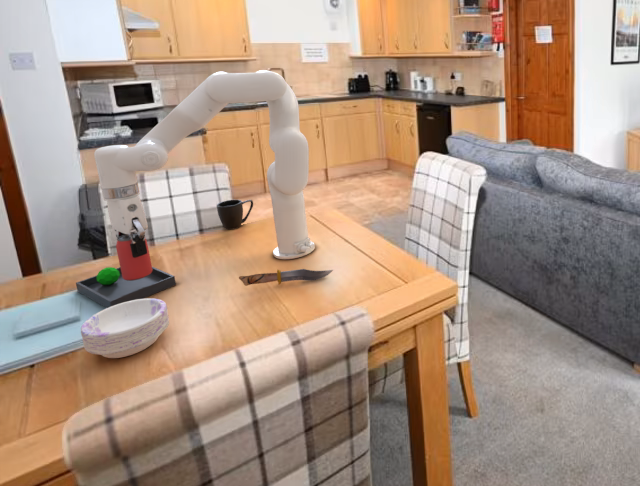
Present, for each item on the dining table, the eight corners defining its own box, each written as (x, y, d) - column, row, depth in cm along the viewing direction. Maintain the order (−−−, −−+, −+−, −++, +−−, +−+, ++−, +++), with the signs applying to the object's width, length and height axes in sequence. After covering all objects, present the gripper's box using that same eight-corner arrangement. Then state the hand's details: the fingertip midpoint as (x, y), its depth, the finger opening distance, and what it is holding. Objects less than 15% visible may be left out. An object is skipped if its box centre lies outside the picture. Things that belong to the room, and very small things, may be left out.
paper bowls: (187, 332, 111) (181, 302, 110) (116, 374, 97) (109, 341, 96) (143, 320, 116) (137, 292, 115) (71, 359, 102) (63, 327, 101)
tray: (176, 284, 134) (174, 276, 133) (112, 311, 121) (110, 301, 120) (140, 268, 144) (138, 260, 143) (77, 291, 131) (75, 282, 130)
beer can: (134, 270, 132) (126, 231, 130) (158, 269, 133) (150, 230, 130) (117, 282, 126) (107, 241, 123) (142, 281, 126) (134, 240, 124)
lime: (107, 288, 130) (104, 273, 129) (93, 287, 131) (90, 272, 130) (125, 280, 135) (122, 265, 134) (112, 278, 136) (108, 263, 135)
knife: (334, 276, 137) (333, 260, 136) (334, 278, 136) (332, 262, 135) (241, 290, 130) (239, 274, 129) (240, 293, 129) (237, 276, 128)
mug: (258, 223, 179) (255, 200, 176) (223, 232, 171) (219, 208, 169) (252, 218, 184) (249, 195, 182) (218, 226, 176) (214, 203, 174)
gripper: (153, 191, 123) (165, 253, 127) (122, 183, 131) (134, 241, 135) (119, 200, 117) (132, 265, 120) (89, 190, 125) (102, 251, 129)
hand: (133, 252), depth 128 cm, fingers closed on beer can, 6 cm apart
